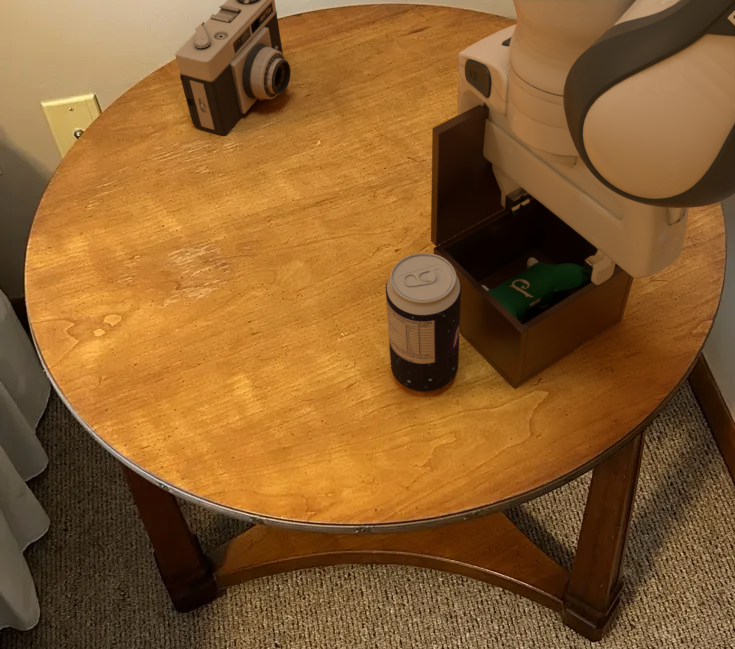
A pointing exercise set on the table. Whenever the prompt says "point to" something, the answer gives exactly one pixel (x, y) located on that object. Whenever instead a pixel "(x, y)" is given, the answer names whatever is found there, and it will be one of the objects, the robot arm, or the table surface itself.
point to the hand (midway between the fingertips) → (554, 240)
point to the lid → (461, 176)
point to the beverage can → (423, 321)
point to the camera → (232, 64)
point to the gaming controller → (537, 286)
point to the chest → (540, 325)
